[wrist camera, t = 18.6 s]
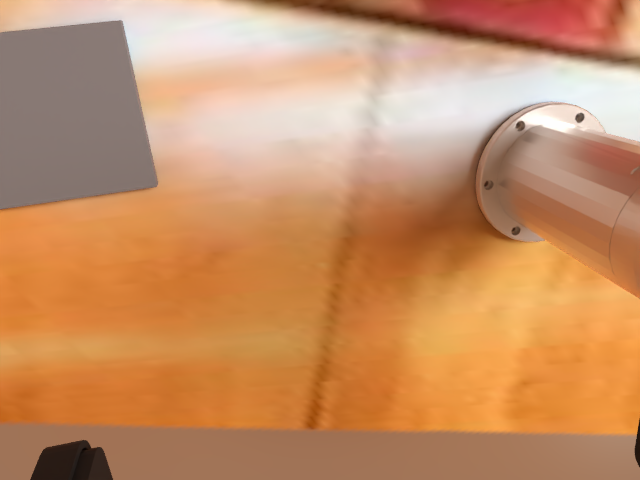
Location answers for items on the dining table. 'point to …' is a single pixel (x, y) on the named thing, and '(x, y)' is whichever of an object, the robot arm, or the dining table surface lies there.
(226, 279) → the dining table surface
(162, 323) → the dining table surface
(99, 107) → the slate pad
